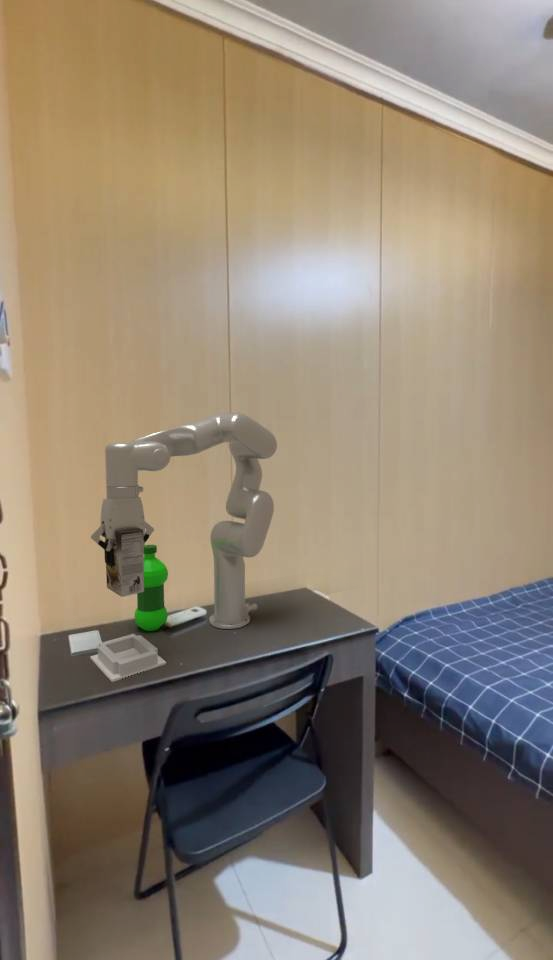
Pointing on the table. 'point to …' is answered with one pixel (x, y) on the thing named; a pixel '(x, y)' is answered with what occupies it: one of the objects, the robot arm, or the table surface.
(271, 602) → the table surface
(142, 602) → the plastic bottle
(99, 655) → the tray
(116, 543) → the coffee box
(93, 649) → the hard drive
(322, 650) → the table surface
